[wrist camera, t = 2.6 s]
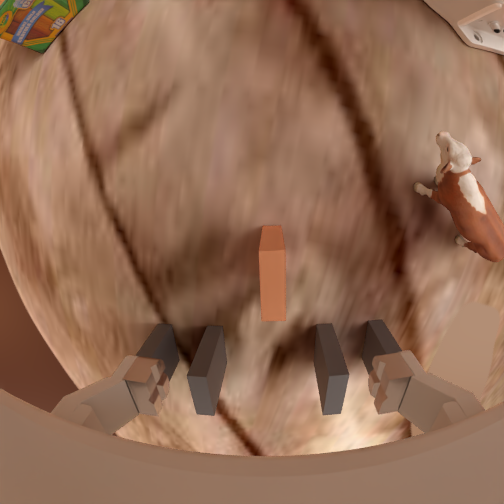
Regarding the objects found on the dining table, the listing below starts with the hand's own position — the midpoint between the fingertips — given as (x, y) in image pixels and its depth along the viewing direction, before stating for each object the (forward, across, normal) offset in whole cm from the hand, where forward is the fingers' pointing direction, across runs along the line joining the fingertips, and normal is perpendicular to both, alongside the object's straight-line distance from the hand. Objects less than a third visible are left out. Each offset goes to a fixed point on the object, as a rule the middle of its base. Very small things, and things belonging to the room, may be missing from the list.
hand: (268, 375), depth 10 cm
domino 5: (+16, -11, +10) cm, 22 cm away
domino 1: (+16, +11, +10) cm, 22 cm away
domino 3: (+16, 0, 0) cm, 16 cm away
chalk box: (+16, +26, -33) cm, 45 cm away
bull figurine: (+16, -17, -5) cm, 24 cm away
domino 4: (+16, -5, +10) cm, 20 cm away
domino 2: (+16, +6, +10) cm, 20 cm away
